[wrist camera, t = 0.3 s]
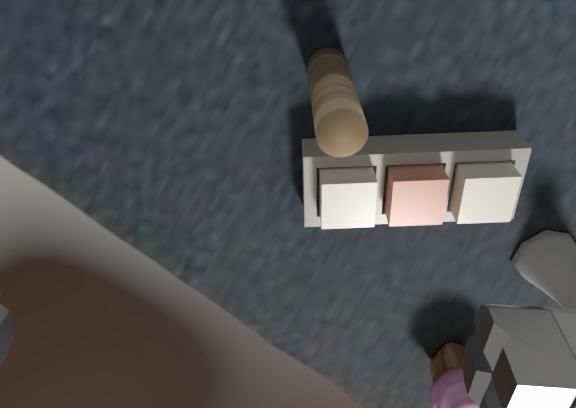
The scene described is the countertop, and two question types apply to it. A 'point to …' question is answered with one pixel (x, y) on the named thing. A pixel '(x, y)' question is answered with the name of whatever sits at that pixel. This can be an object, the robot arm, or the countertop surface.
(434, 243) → the countertop surface
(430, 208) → the terracotta key
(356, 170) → the ivory key
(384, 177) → the keypad bezel
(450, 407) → the cupcake
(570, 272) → the flask
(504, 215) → the ivory key
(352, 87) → the tan wooden cylinder
